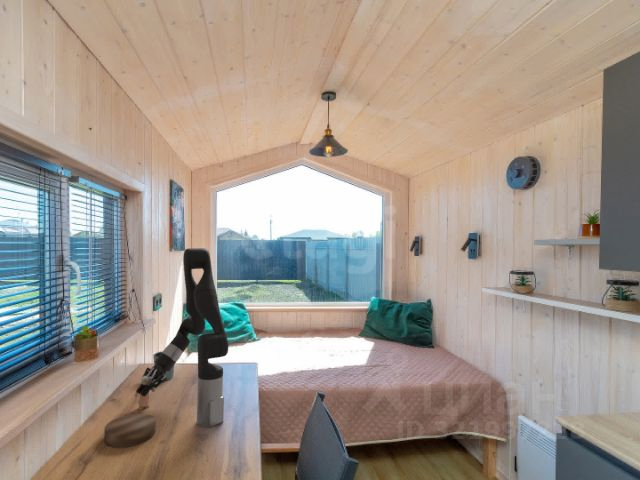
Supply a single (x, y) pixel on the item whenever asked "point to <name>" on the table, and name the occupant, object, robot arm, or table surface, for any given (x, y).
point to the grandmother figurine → (143, 399)
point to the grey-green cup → (168, 373)
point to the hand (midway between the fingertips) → (140, 393)
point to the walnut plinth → (129, 430)
